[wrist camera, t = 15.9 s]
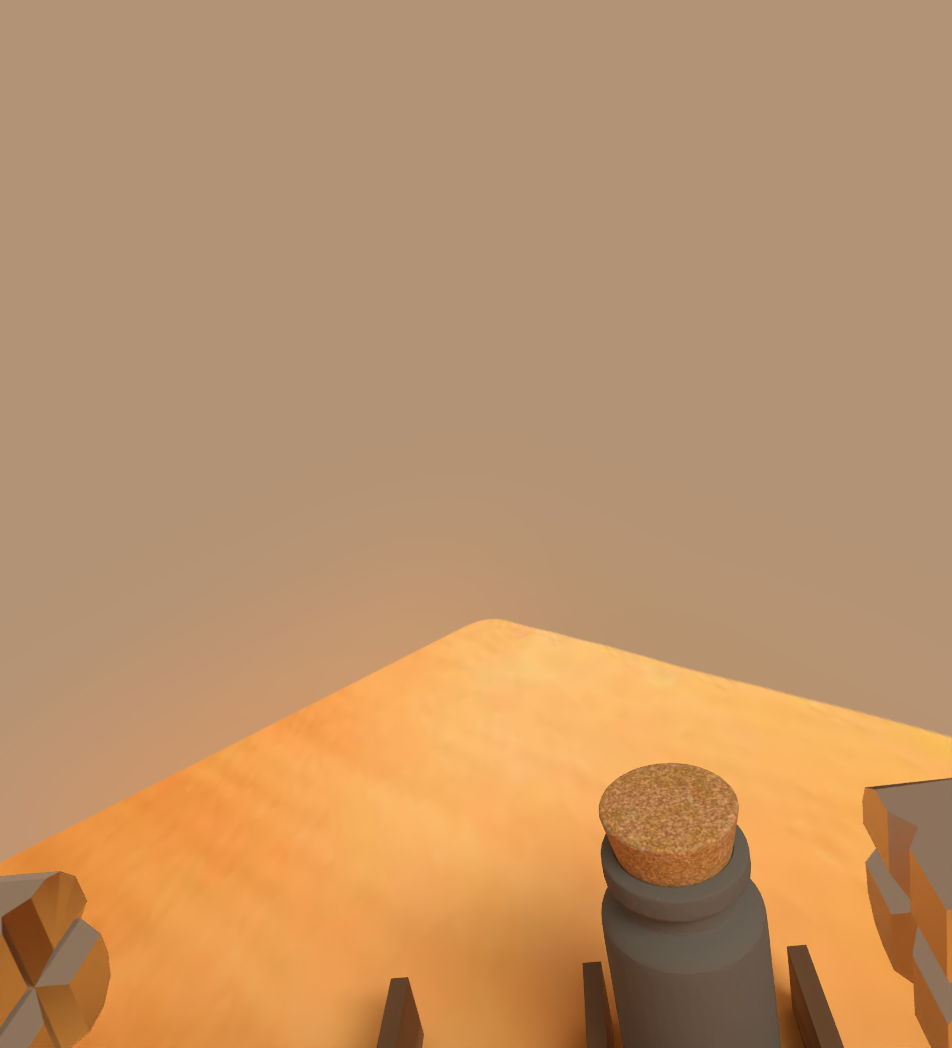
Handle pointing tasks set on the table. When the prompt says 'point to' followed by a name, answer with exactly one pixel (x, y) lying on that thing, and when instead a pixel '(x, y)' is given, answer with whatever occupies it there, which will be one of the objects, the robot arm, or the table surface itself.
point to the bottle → (684, 914)
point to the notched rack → (808, 1002)
